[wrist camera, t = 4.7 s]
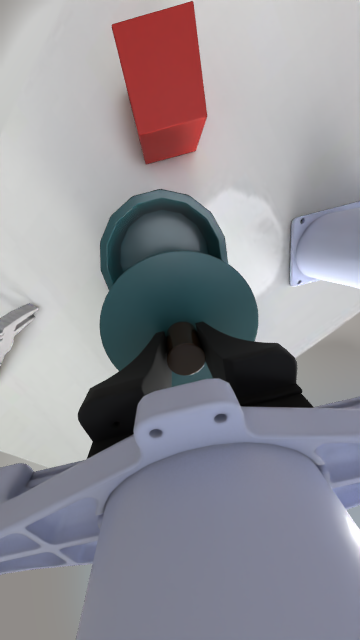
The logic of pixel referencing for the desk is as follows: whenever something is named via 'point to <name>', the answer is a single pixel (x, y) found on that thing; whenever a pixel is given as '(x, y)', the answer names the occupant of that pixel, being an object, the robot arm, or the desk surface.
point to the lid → (176, 310)
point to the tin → (157, 231)
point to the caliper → (14, 326)
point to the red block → (163, 80)
